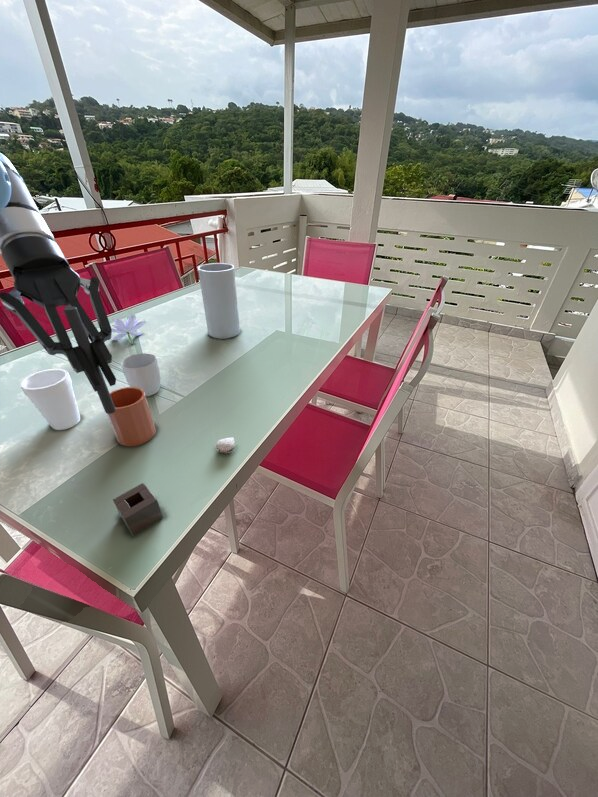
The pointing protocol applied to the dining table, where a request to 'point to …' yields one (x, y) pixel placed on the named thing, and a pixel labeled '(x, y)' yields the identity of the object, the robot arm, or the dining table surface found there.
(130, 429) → the tumbler
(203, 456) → the dining table surface
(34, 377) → the foam cup
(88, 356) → the rod
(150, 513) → the holder
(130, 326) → the water lily
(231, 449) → the white seashell
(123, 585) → the dining table surface
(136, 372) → the mug
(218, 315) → the cylinder vase
